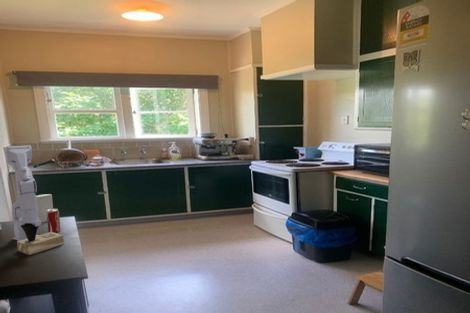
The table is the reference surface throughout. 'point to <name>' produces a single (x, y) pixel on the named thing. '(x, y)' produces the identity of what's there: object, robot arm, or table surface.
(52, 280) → the table surface
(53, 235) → the peg
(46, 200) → the skincare box
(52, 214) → the soda can
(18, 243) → the peg board
